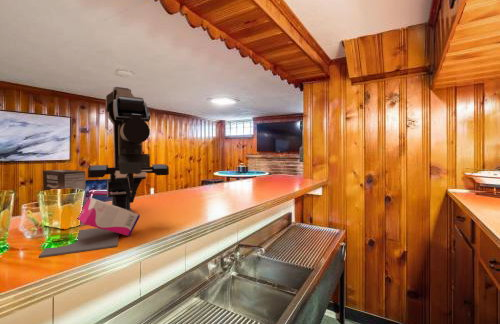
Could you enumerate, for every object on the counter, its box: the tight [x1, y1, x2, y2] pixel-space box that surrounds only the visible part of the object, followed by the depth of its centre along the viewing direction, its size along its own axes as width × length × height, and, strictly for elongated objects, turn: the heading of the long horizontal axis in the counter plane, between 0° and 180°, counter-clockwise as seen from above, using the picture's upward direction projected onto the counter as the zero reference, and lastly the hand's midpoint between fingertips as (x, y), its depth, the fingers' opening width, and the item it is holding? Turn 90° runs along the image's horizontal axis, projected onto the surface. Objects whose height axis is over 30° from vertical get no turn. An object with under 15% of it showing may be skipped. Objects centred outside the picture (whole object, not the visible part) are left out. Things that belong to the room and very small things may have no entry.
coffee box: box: [42, 169, 87, 227], centre depth 70 cm, size 9×6×16 cm
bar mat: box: [38, 227, 120, 259], centre depth 60 cm, size 16×14×1 cm
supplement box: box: [77, 197, 141, 237], centre depth 61 cm, size 6×6×12 cm
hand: (131, 202), depth 65 cm, fingers closed
